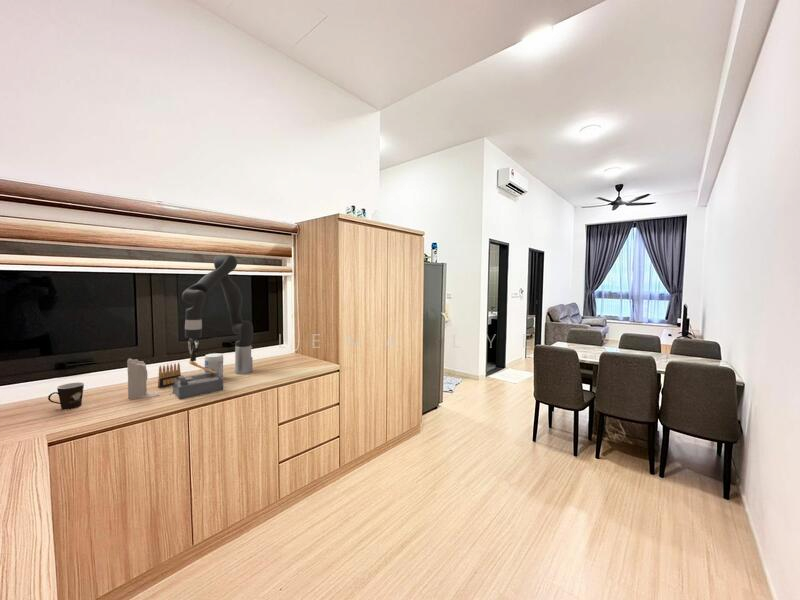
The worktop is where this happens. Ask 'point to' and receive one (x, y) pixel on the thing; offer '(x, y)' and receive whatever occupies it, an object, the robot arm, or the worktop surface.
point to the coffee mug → (69, 395)
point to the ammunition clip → (168, 375)
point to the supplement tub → (214, 363)
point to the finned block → (197, 385)
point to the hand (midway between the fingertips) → (193, 360)
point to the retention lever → (200, 366)
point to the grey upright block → (138, 380)
